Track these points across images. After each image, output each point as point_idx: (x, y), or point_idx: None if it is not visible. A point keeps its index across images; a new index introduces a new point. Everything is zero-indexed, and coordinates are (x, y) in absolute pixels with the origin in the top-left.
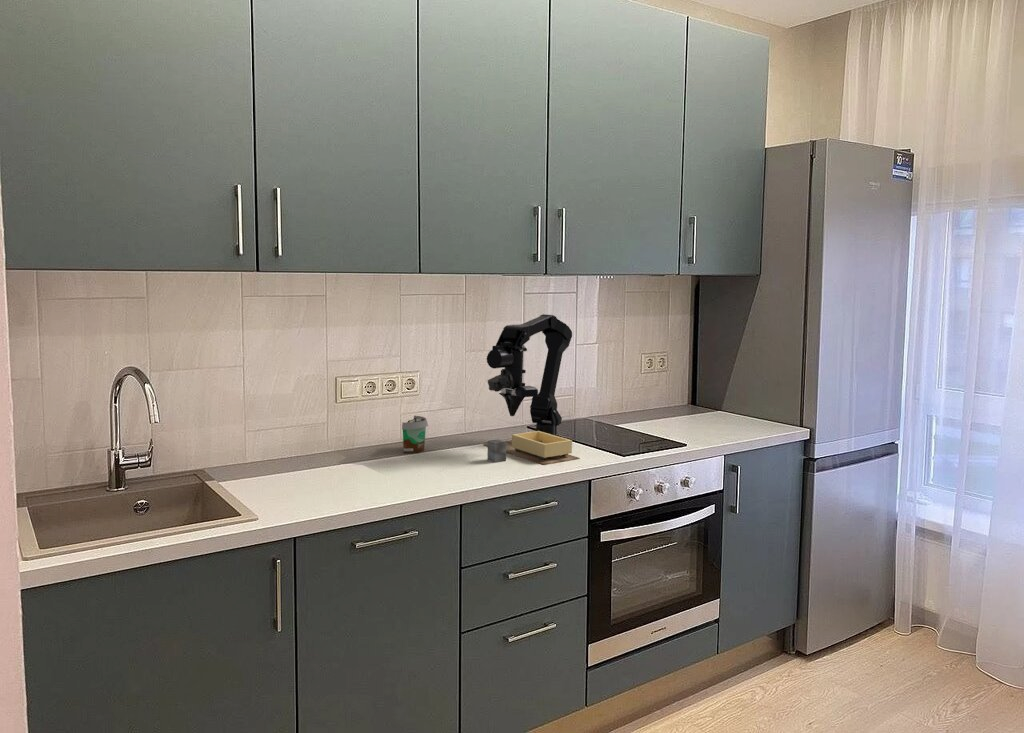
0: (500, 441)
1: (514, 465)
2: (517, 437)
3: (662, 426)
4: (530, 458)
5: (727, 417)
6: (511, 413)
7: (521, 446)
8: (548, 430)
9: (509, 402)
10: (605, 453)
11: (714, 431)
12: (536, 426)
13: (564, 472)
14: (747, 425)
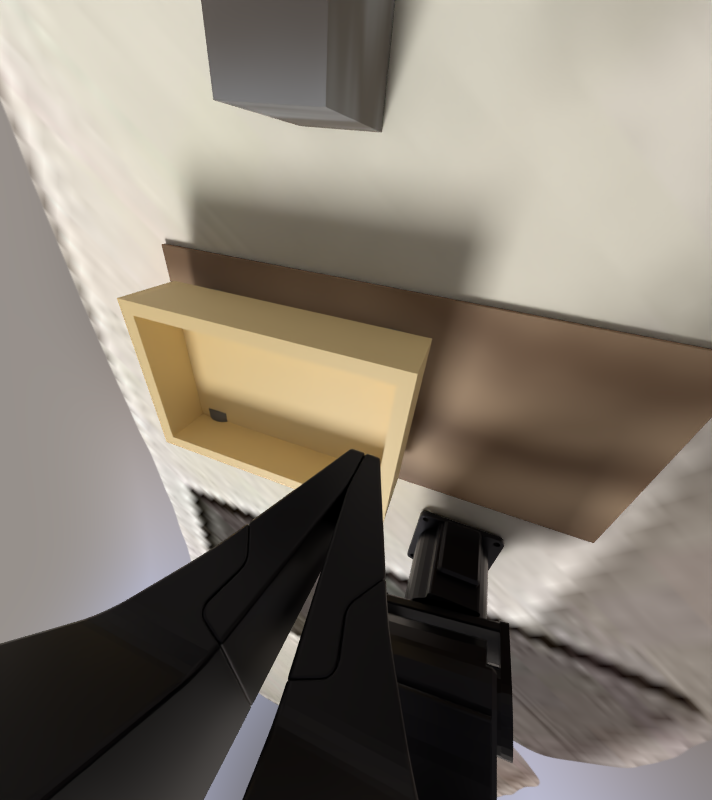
0: (237, 41)
1: (198, 92)
2: (354, 353)
3: None
4: (262, 278)
5: None
6: (332, 462)
7: (332, 325)
8: (414, 575)
9: (306, 624)
10: (232, 495)
11: (284, 671)
12: (477, 597)
13: (55, 219)
14: None
